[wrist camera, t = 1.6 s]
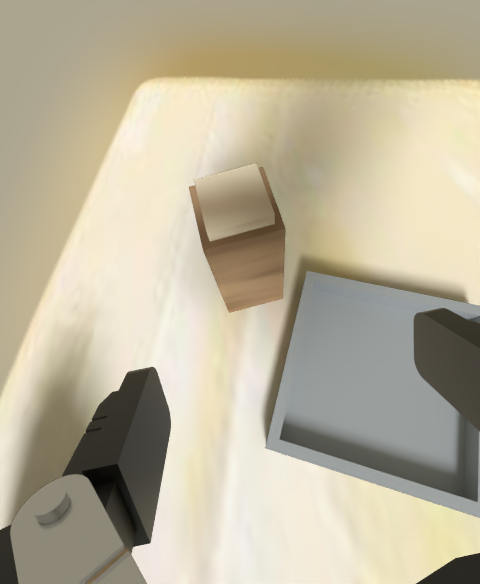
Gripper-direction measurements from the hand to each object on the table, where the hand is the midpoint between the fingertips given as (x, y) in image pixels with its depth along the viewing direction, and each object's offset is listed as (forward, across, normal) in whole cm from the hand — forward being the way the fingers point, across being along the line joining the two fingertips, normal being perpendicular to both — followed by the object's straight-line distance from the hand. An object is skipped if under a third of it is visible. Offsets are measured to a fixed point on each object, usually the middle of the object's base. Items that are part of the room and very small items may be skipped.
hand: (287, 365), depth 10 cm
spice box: (+20, 0, +3) cm, 20 cm away
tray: (+12, -8, +11) cm, 19 cm away
